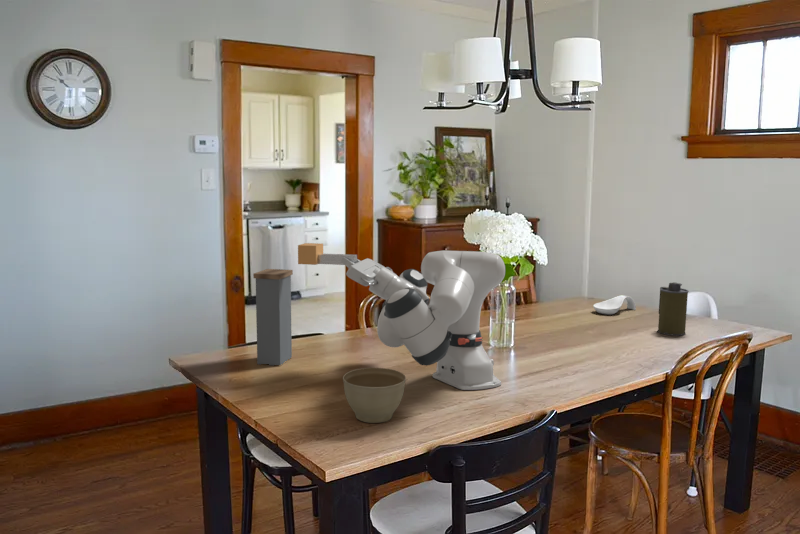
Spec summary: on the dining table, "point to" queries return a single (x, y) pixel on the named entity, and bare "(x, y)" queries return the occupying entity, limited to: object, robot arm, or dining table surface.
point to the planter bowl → (374, 393)
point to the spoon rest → (614, 305)
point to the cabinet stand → (273, 316)
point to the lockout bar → (320, 255)
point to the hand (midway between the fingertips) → (344, 258)
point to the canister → (672, 310)
